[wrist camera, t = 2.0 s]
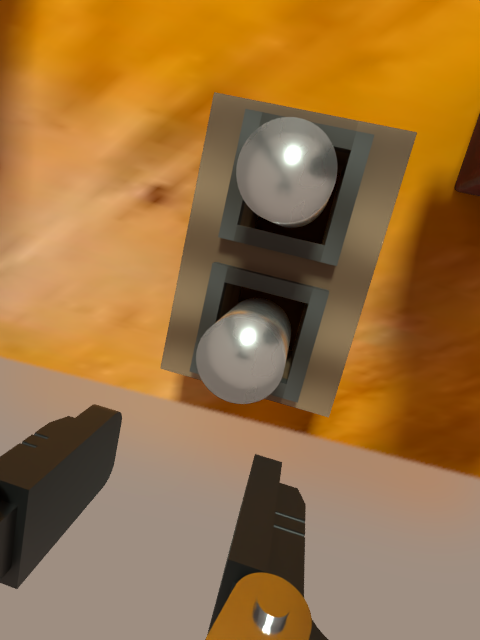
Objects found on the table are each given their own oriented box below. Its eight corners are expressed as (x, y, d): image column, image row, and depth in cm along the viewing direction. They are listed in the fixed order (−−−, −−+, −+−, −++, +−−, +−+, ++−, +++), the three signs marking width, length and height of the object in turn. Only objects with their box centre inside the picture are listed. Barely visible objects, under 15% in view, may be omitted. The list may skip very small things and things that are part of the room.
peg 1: (266, 144, 24) (248, 107, 17) (338, 159, 23) (350, 127, 17) (249, 218, 25) (226, 211, 18) (318, 235, 24) (321, 233, 18)
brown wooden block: (235, 125, 31) (210, 86, 23) (392, 157, 29) (421, 127, 21) (189, 343, 35) (155, 373, 27) (325, 381, 33) (329, 423, 26)
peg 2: (232, 290, 26) (206, 307, 19) (299, 307, 25) (295, 330, 19) (218, 353, 27) (188, 389, 20) (281, 371, 26) (272, 414, 20)
